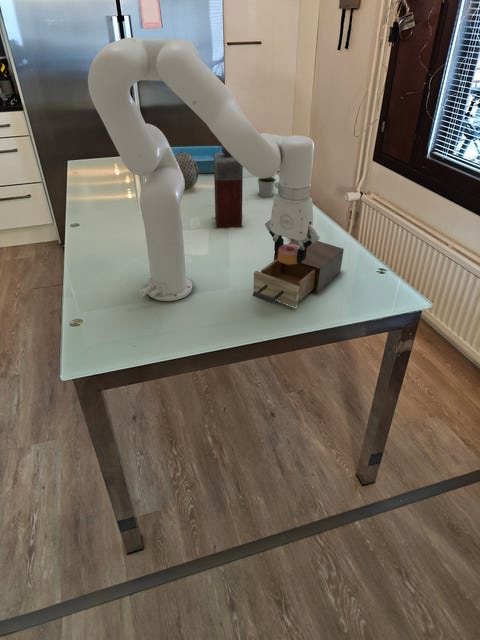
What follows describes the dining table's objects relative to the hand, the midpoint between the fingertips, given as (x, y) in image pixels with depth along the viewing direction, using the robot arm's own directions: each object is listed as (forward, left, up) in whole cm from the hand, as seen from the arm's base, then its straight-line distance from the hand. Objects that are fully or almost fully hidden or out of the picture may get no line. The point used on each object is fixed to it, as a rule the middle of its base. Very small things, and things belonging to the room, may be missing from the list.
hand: (289, 257), depth 122 cm
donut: (0, 0, -1) cm, 1 cm away
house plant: (+59, +44, -11) cm, 74 cm away
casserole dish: (+67, +91, -11) cm, 114 cm away
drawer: (-3, 0, -10) cm, 11 cm away
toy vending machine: (+29, +42, -11) cm, 52 cm away
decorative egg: (+44, +76, -11) cm, 89 cm away
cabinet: (+12, 0, -11) cm, 16 cm away
